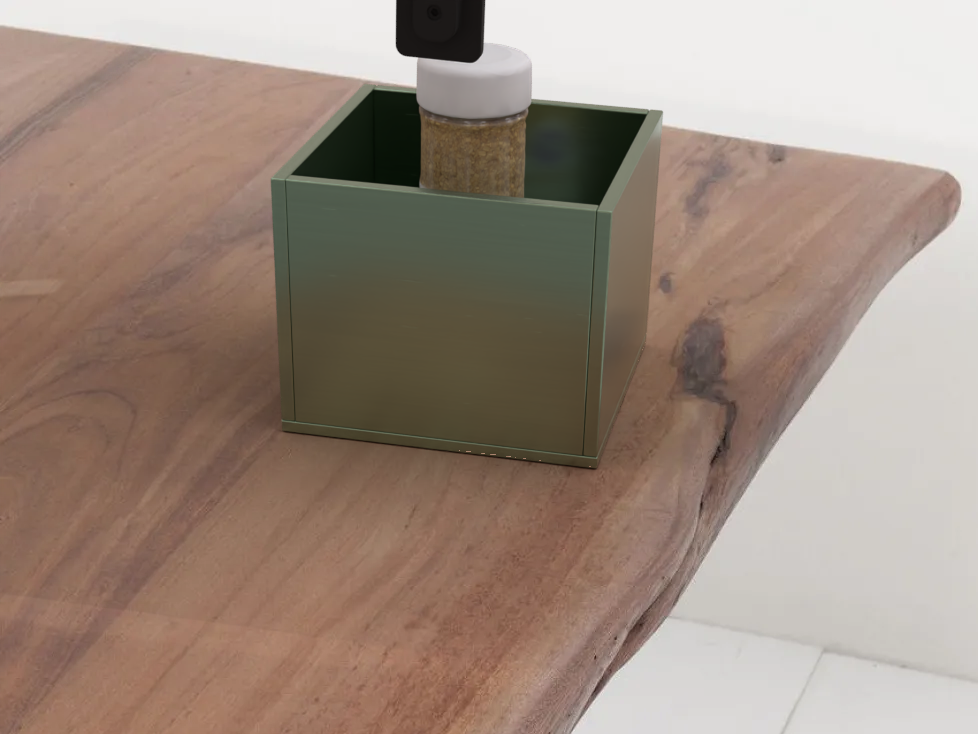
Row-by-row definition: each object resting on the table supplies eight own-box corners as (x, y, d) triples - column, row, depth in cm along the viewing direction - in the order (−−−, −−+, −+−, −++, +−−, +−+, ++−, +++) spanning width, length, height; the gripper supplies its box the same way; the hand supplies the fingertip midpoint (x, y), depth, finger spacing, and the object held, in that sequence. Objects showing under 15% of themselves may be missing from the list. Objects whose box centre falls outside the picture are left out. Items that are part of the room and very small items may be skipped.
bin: (281, 431, 78) (269, 177, 72) (367, 312, 88) (363, 83, 82) (596, 469, 76) (612, 211, 70) (646, 343, 86) (663, 110, 80)
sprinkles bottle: (542, 370, 82) (555, 51, 74) (480, 405, 79) (487, 76, 71) (458, 344, 84) (462, 31, 76) (395, 377, 81) (392, 54, 73)
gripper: (439, -516, 71) (429, -33, 81) (303, -507, 57) (311, 74, 67) (636, -504, 70) (601, -16, 80) (546, -492, 56) (518, 97, 66)
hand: (469, 24), depth 73 cm, fingers open, 9 cm apart
